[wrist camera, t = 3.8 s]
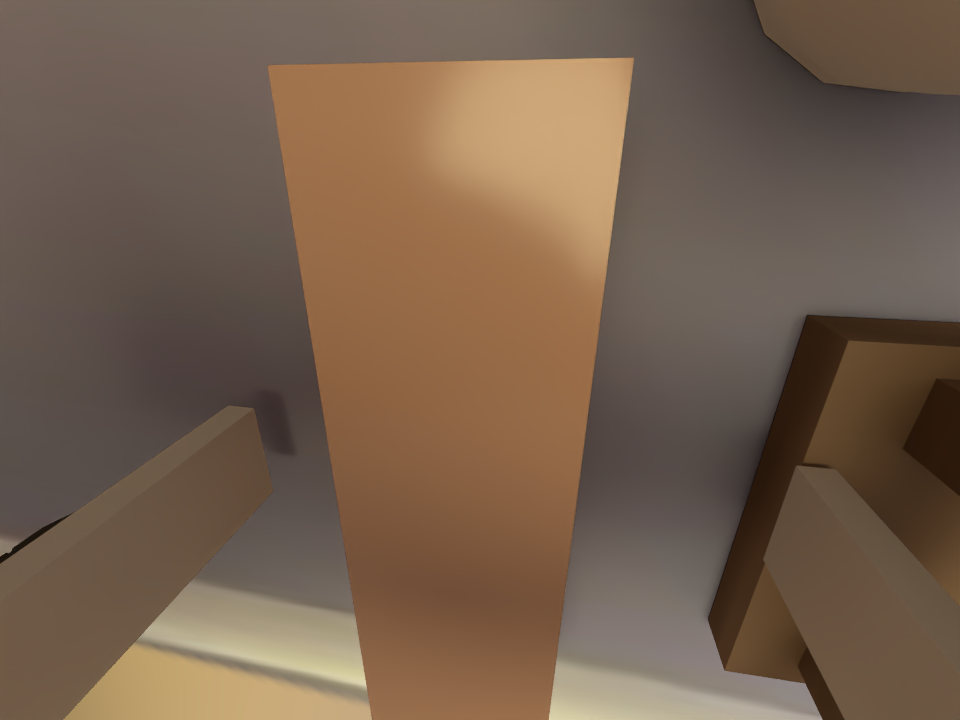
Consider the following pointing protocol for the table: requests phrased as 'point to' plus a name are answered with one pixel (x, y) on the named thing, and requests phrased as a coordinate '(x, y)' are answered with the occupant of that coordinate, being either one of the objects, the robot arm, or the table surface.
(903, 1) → the foam cup
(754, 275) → the table surface
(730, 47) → the table surface
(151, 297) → the table surface
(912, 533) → the rack
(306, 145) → the clay bar
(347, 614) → the table surface
